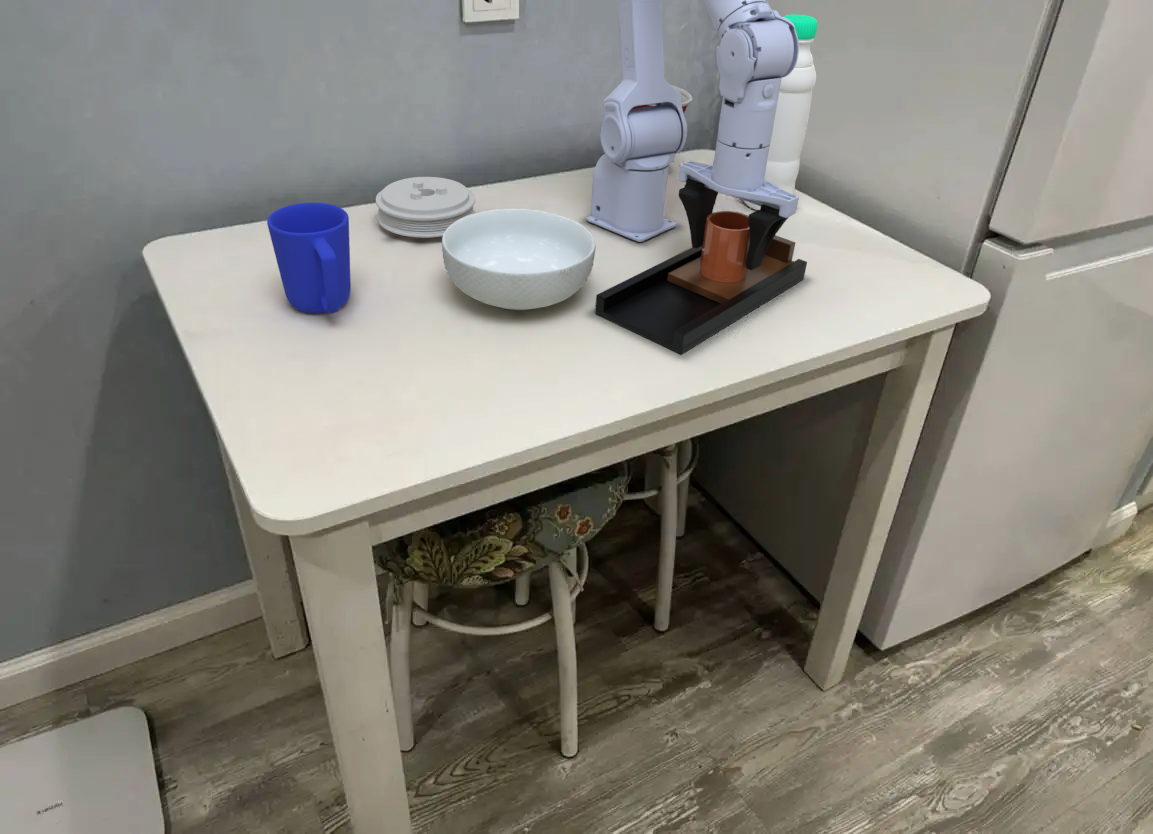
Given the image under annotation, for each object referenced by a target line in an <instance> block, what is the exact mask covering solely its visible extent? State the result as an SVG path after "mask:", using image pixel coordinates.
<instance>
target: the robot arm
mask: <svg viewBox="0 0 1153 834" xmlns="http://www.w3.org/2000/svg"><path fill="white" fill-rule="evenodd" d="M662 1H663V0H617V1H616V2H617V15H618V16H617V18H618V19H617V20H618V34H619V37H618V38H619V53H620V56H619V57H620V73H621V82H620V83H618V85H617V86H616V87H615V88H614V89H613V90H612V91H611V93H609V94H608V95H607V96H606V98H604V99H603V101H602V119H601V120H602V121H601V125H600V131H599V132H600V134H599V137H600V145H601V148H602V150H603V152H604V154H602V155H600V157H599V159H598V160H597V162H596V164H595V165H594V170H593V174H592V186H591V204H590V215H589V216H586V221H587V222H588V223H591V224H593V225H596V226H599V227H601V228H603V229H604V230H605V229H606V230H608V231H610V232H613V233H615V234H618V235H621V236H623V237H625V238H628V239H630V240H633V241H635V242H638V243H642V242H645V241H646V240H649V239H651V238H654V237H655V236H657V235H660V234H662V233H664V232H666V231H668V230H671V229H673V228H675V227H676V226H677V222H676V221H673V220H671V219H668V218H667V217H665V206H666V197H667V188H668V178H669V171H670V170H669V169H670V164H671V163H675V159H676V155H677V154H679V153H681V151H683V149H684V147H685V145H686V141H687V138H688V137H687V136H688V124H687V119H686V117H685V113H684V114H683V110H682V103H681V94H680V93H679V92H678V91H677V90H676V89H675V88H673V87H672V86H671V85H672V84H670V83H669V82H668V81H667V80H666V79H665V57H664V56H665V55H664V54H665V53H664V28H663V27H664V26H663V2H662ZM702 2H703V4H704V7H705V9H706V11H707V14H708V16H709V18H710V19H711V23H712V25H713V27H714V30H715V31H716V34H717V36H718V39H719V41H720V42H719V45H717V46H716V53H715V54H716V64H717V69H718V73H719V85H718V90H719V95H720V97H722V101H721V106H720V114H719V121H718V129H717V137H716V142H715V152H714V158H713V165H712V164H706V163H701V162H698V161H694V160H687V161H685V162H681V163H679V167H678V168H679V169H678V176H677V180H678V181H679V182H682V183H685V184H684V187H681V188H679V189H678V198H679V200H680V201H681V204H682V206H683V209H684V211H685V214H686V217H687V222H688V227H689V233H690V234H689V235H690V241H691V248H692V247H693V248H696V249H697V248H699V247H701V246H703V240H704V232H705V225H706V218H707V217H708V215H709V214H711V213H713V212H714V208H715V205H716V201H717V197H718V195H719V194H722V195H724V196H728V197H733V198H735V199H739V200H741V201H743V202H744V201H747V202H750V203H752V204H755V205H758V206H761V208H760V210H755V211H753V212H751V213H749V214H748V220H749V229H750V239H749V248H748V254H747V259H746V269H749V270H753V269H755V268H757V267H758V266H760V265H761V262H762V260H763V257H764V255H765V253H766V251H767V249H768V247H769V245H770V243H771V241H772V239H773V238H774V236H775V235H777V234H778V232H779V230H780V229H781V227H783V225H784V223H785V222H786V221H787V220H788V219H789V218H790V217H791V216H793V215H795V214H796V213H797V209H798V205H799V199H800V197H799V196H798V195H796V194H794V195H793V194H791V193H788V192H786V191H785V190H783V189H781V188H779V187H777V186H776V185H774V184H772V183H770V182H769V181H767V180H765V179H764V177H765V171H766V166H767V160H768V154H769V148H770V143H771V137H772V131H773V126H774V120H775V114H776V108H777V102H778V97H779V91H780V85H781V80H782V78H783V77H786V76H787V75H789V74H790V73H791V72H792V70H793V69H794V67H795V65H796V62H797V59H798V54H799V41H798V36H797V33H796V30H795V26H794V24H793V23H792V22H791V21H790V20H789V19H787V18H784V17H783V16H781V15H780V13H779V11H778V10H775V9H772V7H771V6H770V3H769V1H768V0H702ZM648 104H655V105H656V106H653V107H645V108H638V109H632V108H633V107H635V106H640V105H648Z"/></svg>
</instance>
